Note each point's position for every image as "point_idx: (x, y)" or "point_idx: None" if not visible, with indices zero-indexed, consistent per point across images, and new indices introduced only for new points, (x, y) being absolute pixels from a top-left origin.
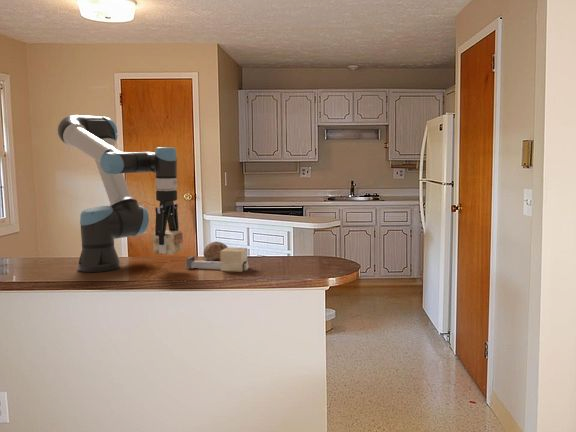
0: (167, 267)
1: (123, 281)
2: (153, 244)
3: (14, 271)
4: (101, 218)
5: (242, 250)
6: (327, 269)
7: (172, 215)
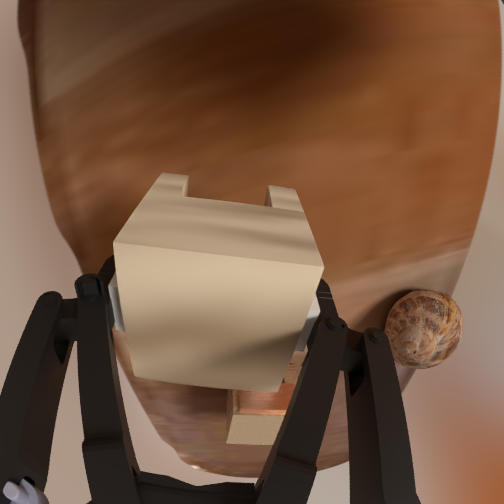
0: (298, 172)
1: (33, 93)
2: (145, 198)
3: None
4: None
5: (245, 443)
6: (256, 465)
7: (255, 486)
